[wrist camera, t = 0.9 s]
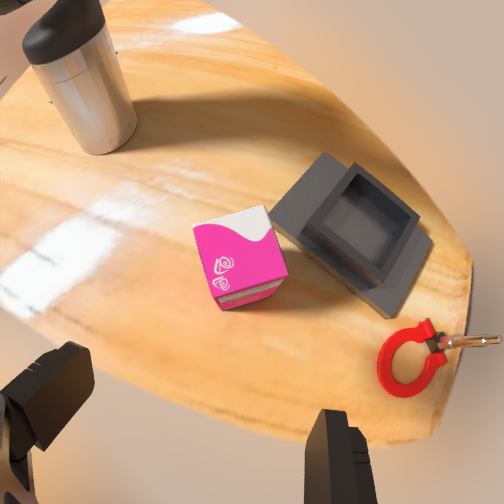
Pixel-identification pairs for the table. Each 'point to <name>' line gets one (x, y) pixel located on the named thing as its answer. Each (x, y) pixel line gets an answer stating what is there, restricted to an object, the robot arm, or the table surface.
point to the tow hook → (432, 362)
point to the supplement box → (240, 257)
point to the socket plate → (354, 231)
